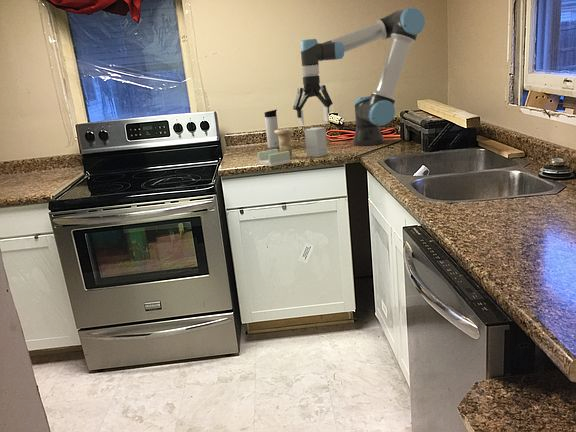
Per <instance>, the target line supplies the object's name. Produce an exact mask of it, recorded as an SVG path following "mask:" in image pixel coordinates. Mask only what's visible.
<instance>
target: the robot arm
mask: <svg viewBox="0 0 576 432" xmlns="http://www.w3.org/2000/svg"><path fill="white" fill-rule="evenodd" d="M425 26H426V18H425V15H424V12H423V11H422V10H421V9H419V8H418V7H417V8H416V7H406V8H403V9H399V10H395V11H394V12H392V13H390V14H387V15H386V16H384V17H381V18H380V19H377V20H376V22H375V23H373V24H370V25H366V26H364V27H362V28H359V29H357V30H354V31H351V32H349V33H346V34H344V35H340V36H338V37H335V38H332V39H330V40H328V41H327V40H326V41H325V42H322V43H321V42H319V43H318V39H317V38H311V39H310V38H309V39H303V40H301V41H300V56H301V57H300V58H301V70H302V76H303V77H302V85H303V87H298V88H297V94H296V98H295V100H294V103H293V106H292V110H295V111H296V115H297V116H296V117H297V118H298V122H299V123H298V124H299V126H305V119H304V110H302V109H303V108H304V106H305V104H306V103H307V100H308V99H310V98H312V97H316V98H317V99H318V100H319V101H320V102H321V103H322V104H323V106H322V107H323V109H322V111H323V121H324V122H329V118H330V117H329V114H330V107H331V106H332V105H333V104H334V103H333V101H332V99H331V97H330V94H329V93H328V90H327V86H326V85H325V84H321V85H320V83H321V81H320V80H321V79H320V75H319V74H320V68H319V67H320V66H319V64H320V63H319V62H322V61H334V60H335V61H336V60H341V59H343V58H344V57H345V53H346V52H349V51H352V50H355V49H357V48H360V47H362V46H366V45H368V44H370V43H372V42H375V41H378V40H383V41H385V40H386V39H391V40H392V41H391V43H390V46H389V49H388V53H387V56H386V59H385V62H384V65H383V68H382V71H381V73H380V74H381V75H380V76H379V80H378V83H377V86H376V89H375V90H374V91H373V92H371V94H370V96H369V95H368V96H362V97H357V98H356V99H354V113H355V114H354V115H355V117H354V118H355V132H354V135H353V139H352V140H353V141H352V144H353V145H354V146H376V145H380V144H383V143H384V136H383V132H382V130H381V128H380V127H381V126H385V125H388V124H389V123H391V122H392V120H393V119H394V117H395V115H396V108H395V106H394V105H395V102H396V99H395V91H396V88H397V86H398V83H399V80H400V78H401V74H402V72H403V67H405V66H404V65H405V62H406V60H407V56H408V53H409V50H410V47H411V45H413V44H415V42H416V40H417V37H418V35H419V34H420V33H421V32H422V31H423V30H424V28H425ZM303 93H304V94H303Z"/></svg>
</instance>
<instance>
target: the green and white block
mask: <svg viewBox="0 0 576 432" xmlns="http://www.w3.org/2000/svg"><path fill="white" fill-rule="evenodd" d="M256 155H257V161H258V162H257V163H258V164H260V165H263V166H267V167H277V166H281V165H285V164H291V159H290V152H289V151H286V152H281V153H280V152H279V148H278V149H268V150H262V151H259V152H257V153H256Z"/></svg>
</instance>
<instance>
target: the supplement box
mask: <svg viewBox="0 0 576 432" xmlns="http://www.w3.org/2000/svg"><path fill="white" fill-rule="evenodd" d="M326 130H327V129H326V127H310V128H307V129H304V130H303V131H304V142H305V151H306V152H305V153H306V157H311V156H312V158H319V157H322V156H323V157H324V156H326V155H328V144H327V131H326Z"/></svg>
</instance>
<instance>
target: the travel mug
mask: <svg viewBox="0 0 576 432" xmlns="http://www.w3.org/2000/svg"><path fill="white" fill-rule="evenodd" d="M277 111H278V109H273V110H267V111H266V112H264V123H265V131H266V133H265V134H266V141H267V149H268V150H273V149H278V150H279V149H280V147H279V136H278V134H275V133H274V131H275V130H279V128H278V116H277Z"/></svg>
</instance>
